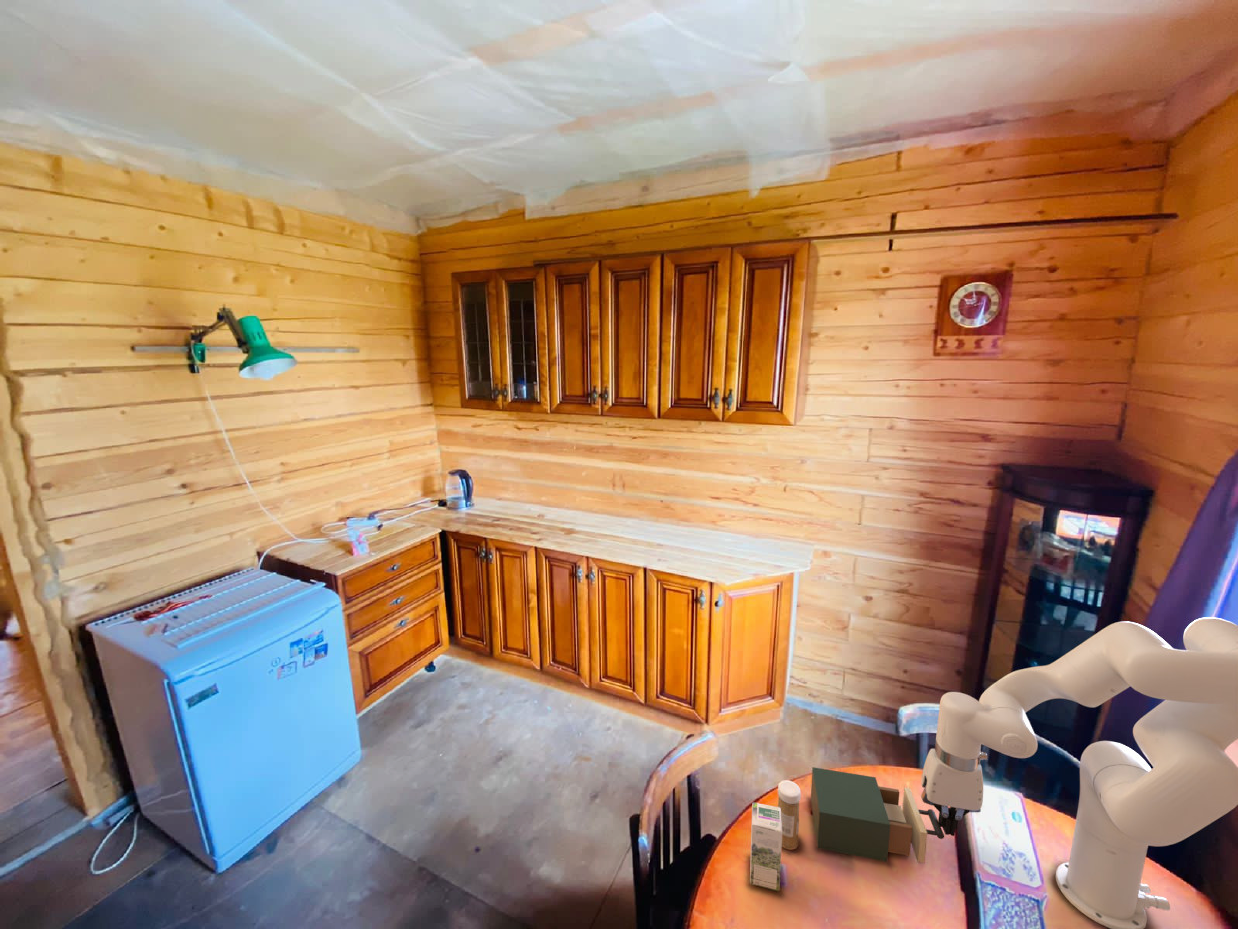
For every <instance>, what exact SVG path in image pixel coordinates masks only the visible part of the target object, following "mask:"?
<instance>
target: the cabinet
mask: <svg viewBox="0 0 1238 929" xmlns="http://www.w3.org/2000/svg"><path fill="white" fill-rule="evenodd" d="M810 786H811V787H810V789H811V790H810V805H811V806H810V807H811V813H812V820H813V826H814V833H815V834H814V835H815V840H816V847H817V849H820V850H825V851H830V852H835V853H840V854H845V855H849V856H855V857H860V858H865V859H870V860H875V861H879V862H885V863H888V857H889V852H888V847H889V835H890V822H889V819H888V816H887V812H886V809H885V806H884V803H883V800H882V796H881V793H880V790H879V787H878V786H879V784H878V781H877V777H875V776H869V775H863V774H857V773H852V772H851V773H850V772H845V771H839V770H833V769H826V768H822V767H821V768H820V767H814V766H812V767H811V784H810Z"/></svg>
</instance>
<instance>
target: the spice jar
mask: <svg viewBox="0 0 1238 929" xmlns="http://www.w3.org/2000/svg"><path fill="white" fill-rule="evenodd" d="M801 792H802V791H801V788H800V786H799V785H798V784H797V783H796V782H795V781H792V780H788V779H784V780H781V781H780V782H779V783H778V785H777V795H778V801H777V807H779V808H781V821H782V849H783V848H784V849H786V850H795V849H797V848H798V845H799V826H800V801H801Z"/></svg>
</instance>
